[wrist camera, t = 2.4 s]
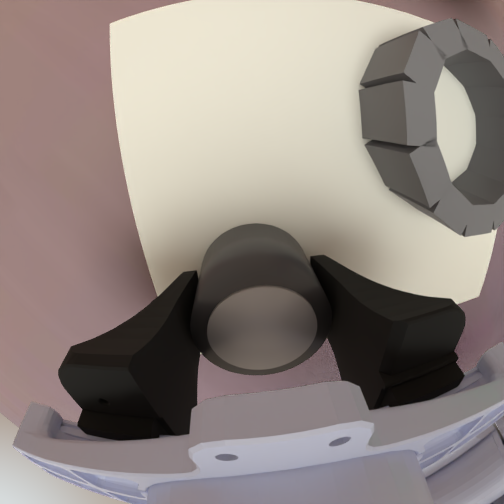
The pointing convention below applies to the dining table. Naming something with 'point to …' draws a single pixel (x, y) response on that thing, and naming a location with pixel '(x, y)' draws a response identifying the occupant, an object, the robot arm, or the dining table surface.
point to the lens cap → (258, 302)
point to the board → (314, 136)
